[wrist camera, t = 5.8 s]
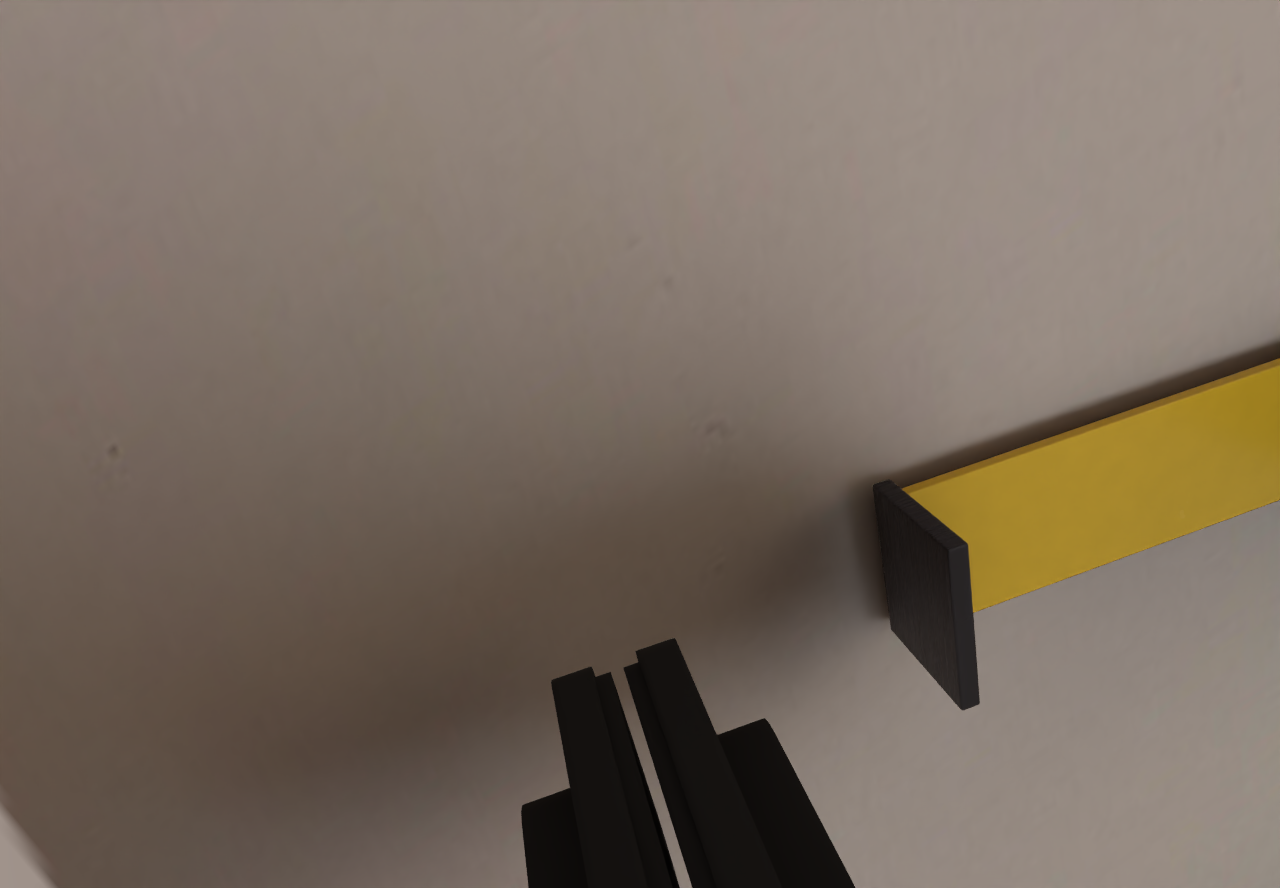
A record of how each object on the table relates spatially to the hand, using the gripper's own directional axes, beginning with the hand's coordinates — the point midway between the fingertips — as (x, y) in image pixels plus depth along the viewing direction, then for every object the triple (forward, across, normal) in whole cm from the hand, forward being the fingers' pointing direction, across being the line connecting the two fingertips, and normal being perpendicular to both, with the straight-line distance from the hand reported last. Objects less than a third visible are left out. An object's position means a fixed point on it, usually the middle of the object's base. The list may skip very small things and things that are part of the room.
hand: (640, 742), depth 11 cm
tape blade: (+2, -10, 0) cm, 10 cm away
